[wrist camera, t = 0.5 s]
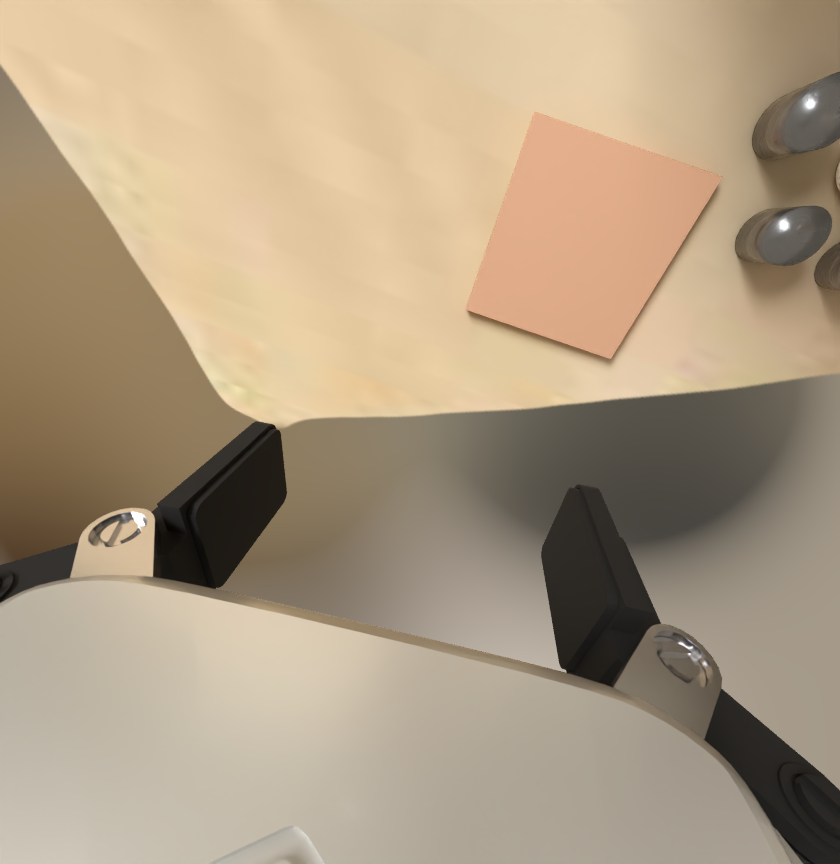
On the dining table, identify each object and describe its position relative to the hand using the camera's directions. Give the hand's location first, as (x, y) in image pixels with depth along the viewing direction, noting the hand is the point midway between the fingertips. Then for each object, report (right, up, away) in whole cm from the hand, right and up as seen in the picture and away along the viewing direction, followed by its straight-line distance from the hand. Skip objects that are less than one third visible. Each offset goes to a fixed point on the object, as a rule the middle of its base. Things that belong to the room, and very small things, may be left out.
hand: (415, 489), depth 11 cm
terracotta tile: (+15, +19, +22) cm, 32 cm away
